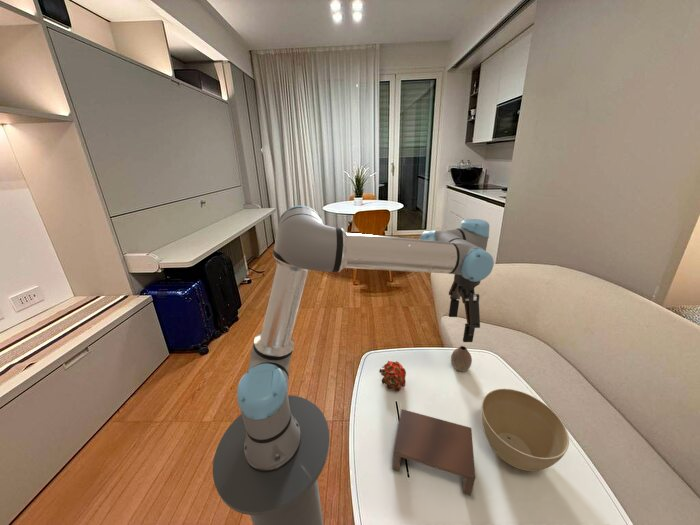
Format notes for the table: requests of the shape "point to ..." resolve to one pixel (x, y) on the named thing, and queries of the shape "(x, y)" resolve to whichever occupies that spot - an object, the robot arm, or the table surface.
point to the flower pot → (523, 430)
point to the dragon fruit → (393, 375)
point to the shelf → (436, 446)
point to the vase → (461, 359)
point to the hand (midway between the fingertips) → (459, 328)
